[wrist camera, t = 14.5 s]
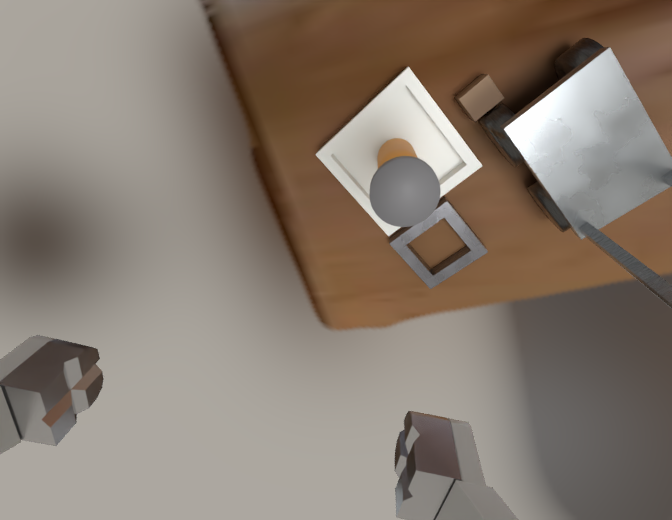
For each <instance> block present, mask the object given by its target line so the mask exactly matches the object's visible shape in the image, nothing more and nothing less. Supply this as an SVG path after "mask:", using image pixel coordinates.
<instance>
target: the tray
mask: <svg viewBox="0 0 672 520" xmlns="http://www.w3.org/2000/svg"><path fill="white" fill-rule="evenodd" d="M394 138H401V139H404V140H406V141H408V142H409V143H410V144H411V145H412V147H413V149H414V151H415V153H416V155H417V157H418V158H419V159H421V160H423V161H425V162H426V163H427V164H428V165H429V166H430V167H431V168H432V169H433V171H434V172H435V174H436V176H437V178H438V180H439V183H440V197H442V196H443V195H444V194H446V193H447V192H448V191H450V190H451V189H452V188H454V187H455V186H456V185H458V184H459V183H460V182H462V181H463V180H464V179H466V178H467V177H468V176H470V175H471V174H472V173H474V172H475V171H476V170H478V169H479V168H480V167H482V165H481V163H480V162H479V161H478V159H477V158H476V156H475V155H474V154H473V152H472V151H471V150H470V148H469V147H468V146H467V144H466V143H465V142H464V140H463V139H462V138H461V136H460V135H459V134H458V132H457V131H456V130H455V128H454V127H453V126H452V124H451V123H450V122H449V120H448V119H447V118H446V116H445V115H444V114H443V112H442V111H441V110H440V108H439V107H438V106H437V104H436V103H435V102H434V100H433V99H432V98H431V96H430V95H429V93H428V92H427V91H426V89H425V88H424V87H423V85H422V84H421V83H420V81H419V80H418V79H417V77H416V76H415V75H414V73H413V72H412V71H411V69H410V68H409V67H406V68H405V69H404V70H403V71H402V72H401V73H400V74H399V75H398V76H397V77H396V78H395V79H394V80H393V81H392V82H391V83H390V84H388V85H387V86H386V87H385V88H384V89H383V90H382V91H381V92H380V93H379V94H378V95H377V96H376V97H375V98H374V99H373V100H372V101H370V102H369V103H368V104H367V105H366V106H365V107H364V108H363V109H362V110H361V111H360V112H359V113H358V114H357V115H356V116H355V117H354V118H352V119H351V120H350V121H349V122H348V123H347V124H346V125H345V126H344V127H343V128H342V129H341V130H340V131H339V132H338V133H337V134H336V135H334V136H333V137H332V138H331V139H330V140H329V141H328V142H327V143H326V144H325V145H324V146H323V147H322V148H321V149H320V150H319V151H318V152H317V153H316V156H317V157H318V158H319V159H320V160H321V161H322V163H323V164H324V165H325V166H326V167H327V168H328V169H329V170H330V172H331V173H332V174H333V175H334V176H335V177H336V178H337V179H338V180H339V182H340V183H341V184H342V185H343V186H344V187H345V188H346V189H347V190H348V192H349V193H350V194H351V195H352V196H353V197H354V198H355V199H356V200H357V202H358V203H359V204H360V205H361V206H362V207H363V208H364V209H365V211H366V212H367V213H368V214H369V215H370V216H371V217H372V218H373V219H374V221H375V222H376V223H377V224H378V225H379V226H380V227H381V228H382V229H383V231H384V232H385V233H386V234H387V235H388V236H390V235H391V234H392V233H394V232H395V231H396V230H398V229H399V228H400V227H397V226H393V225H390V224H388V223H386V222H384V221H383V220H381V219H380V218H379V217H378V216H377V215H376V213H375V212H374V210H373V208H372V206H371V203H370V196H369V195H370V183H371V180H372V178H373V175H374V174H375V172H376V171H377V169H378V161H377V157H378V152H379V149H380V148H381V146H382V145H383V144H384V143H385V142H386V141H388V140H390V139H394Z"/></svg>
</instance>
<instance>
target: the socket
mask: <svg viewBox="0 0 672 520" xmlns="http://www.w3.org/2000/svg"><path fill="white" fill-rule="evenodd" d="M442 218H445V219H446V220H447V222H448V223H449V224H450V225H451V226H452V228H453V229H454V230H455V231H456V232H457V234H458V235H459V236H460V237H461V239H462V240H463V241H464V242H465V243H466V245H467V246H466V247H464V248H463V249H461V250H460V251H458V252H457V253H455V254H454V255H452V256H451V257H449V258H448V259H446V260H445V261H443V262H442V263H440V264H439V265H437V266H436V267H434V268H433V269H431V268H430V267H429V266H428V265H427V264H426V263H425V262H424V260H423V259H422V258H421V257H420V256H419V255H418V254H417V252H416V251H415V250H414V249H413V248H412V247H411V246H410V245H409V242H411V241H412V240H413V239H415V238H416V237H418V236H419V235H420V234H422V233H423V232H424V231H426V230H427V229H429V228H430V227H431V226H433V225H434V224H436V223H437V222H438V221H440V220H441V219H442ZM389 244H390V245H391V246H392V247H393V248H394V249H395V250H396V251H397V253H398V254H399V255H400V256H401V257H402V258H403V259H404V260H405V261H406V263H407V264H408V265H409V266H410V267H411V268H412V269H413V270H414V271H415V273H416V274H417V275H418V276H419V277H420V278H421V279H422V280H423V281H424V282H425V284H426V285H427V286H428V287H429V288H430V289H432V288H433V287H435V286H436V285H438V284H439V283H441V282H442V281H444V280H446V279H447V278H449V277H450V276H452V275H453V274H455V273H456V272H458V271H459V270H461V269H463V268H464V267H466V266H467V265H469V264H470V263H472V262H473V261H475V260H476V259H478V258H480V257H481V256H483V255H484V254H486V253H487V252H488V251H487V249H486V247H485V246H484V245H483V243H482V242H481V241H480V240H479V238H478V237H477V236H476V235H475V233H474V232H473V231H472V230H471V228H470V227H469V226H468V225H467V223H466V222H465V221H464V220H463V218H462V217H461V216H460V215H459V214H458V212H457V211H456V210H455V209H454V207H453V206H452V205H451V204H450V202H449V201H448V200H447V199H446V197H443V198H442V199H441V200H439V202H438V205H437V207H436V209H435V210H434V212H433V213H432V214H431V215H430V216H429V217H428V218H427V219H426V220H424V221H423V222H421V223H419V224H416V225H414V226H409V227H403V228H402V229H401V230H399V231H398V232H397V233H395V234H394V235H393V236H391V237H390V238H389Z"/></svg>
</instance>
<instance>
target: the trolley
mask: <svg viewBox="0 0 672 520" xmlns="http://www.w3.org/2000/svg"><path fill="white" fill-rule="evenodd" d="M554 65H555V70H556V73H557V75H558V78H559V81H558V82H556V83H555V84H554V85H553V86H551V87H550V88H549V89H547V90H546V91H545V92H544V93H542V94H541V95H540V96H538V97H537V98H536V99H535V100H533V101H532V102H531V103H529V104H528V105H527V106H526V107H524V108H523V109H522V110H520V111H519V112H518V113H517V114H514V113H513V112H512V111H511V110H510V109H509V108H508V107H506V106H505V105H504V104H500V105H498V106H497V107H496V108H495V109H493V110H492V111H491V112H490V113H488V114H487V115H486V116H485V117H483V118H482V119H481V120H480V123H481V125H482V127H483V129H484V130H485V132H486V134H487V135H488V136H489V138H490V139H491V141H492V142H493V143H494V145H495V146H496V147H497V148H498V150H499V151H500V152H501V153H502V155H503V156H504V157H505V158H506V159H507V160H508V161H509V162H510V163H511V164H512V165H513V166H514V167H517V166H519V165H520V164H521V163H523V162H525V164H526V165H527V167H528V168H529V169H530V171H531V172H532V174H533V175H534V176H535V178H536V179H537V182H536V183H534V184H533V185H531V186H530V187H528V191H529V193H530V194H531V196H532V198H533V199H534V200H535V202H536V203H537V204H538V206H539V207H540V208H541V210H542V211H543V212H544V213H545V215H546V216H547V217H548V218H549V219H550V220H551V222H552V223H553V224H554V225H555V226H556V227H557V228H558V229H559V230H560V231H561V232H564V231H566V230H568V229H569V228H571V229H572V231H573V232H574V233H575V234H576V235H577V236H578V237H579V238H580V239H581V240H582V239H583V238H585V237H587V238H588V239H589V240H590V241H591V242H593V243H594V244H595V245H596V246H597V247H599V248H600V249H601V250H602V251H603V252H605V253H606V254H607V255H608V256H609V257H611V258H612V259H613V260H614V261H615V262H617V263H618V264H619V265H620V266H621V267H623V268H624V269H625V270H626V271H627V272H629V273H630V274H631V275H632V276H633V277H635V278H636V279H637V280H638V281H639V282H641V283H642V284H643V285H644V286H645V287H647V288H648V289H649V290H650V291H651V292H653V293H654V294H655V295H656V296H657V297H659V298H660V299H661V300H662V301H663V302H665V303H666V304H667V305H668V306H669V307H671V308H672V285H670V284H669V283H668V282H667V281H665V280H664V279H663V278H661V277H660V276H659V275H657V274H656V273H655V272H653V271H652V270H651V269H649V268H648V267H647V266H645V265H644V264H643V263H641V262H640V261H639V260H637V259H636V258H635V257H634V256H632V255H631V254H630V253H628V252H627V251H626V250H624V249H623V248H622V247H620V246H619V245H618V244H616V243H615V242H614V241H612V240H611V239H610V238H608V237H607V236H606V235H604V234H603V233H602V232H600V231H599V230H598V229H600V228H602V227H603V226H605V225H607V224H608V223H610V222H612V221H613V220H615V219H617V218H619V217H620V216H622V215H624V214H625V213H627V212H629V211H630V210H632V209H634V208H635V207H637V206H639V205H640V204H642V203H644V202H645V201H647V200H649V199H650V198H652V197H654V196H655V195H657V194H659V193H660V192H662V191H664V190H665V189H667V188H669V187H671V186H672V157H671V156H670V154H669V152H668V150H667V148H666V147H665V145H664V143H663V141H662V139H661V138H660V136H659V134H658V132H657V131H656V129H655V127H654V125H653V123H652V122H651V120H650V118H649V116H648V114H647V113H646V111H645V109H644V107H643V106H642V104H641V102H640V100H639V98H638V97H637V95H636V93H635V91H634V89H633V88H632V86H631V84H630V82H629V80H628V79H627V77H626V75H625V73H624V72H623V70H622V68H621V66H620V64H619V63H618V61H617V59H616V57H615V55H614V54H613V52H612V50H611V48H610V47H606V48H604V47H603V46H602V45H600V44H599V43H598V42H596V41H594V40H592V39H589V38H582V39H581V40H579V41H578V42H577V43H576V44H574V45H573V46H572V47H571V48H569V49H568V50H567V51H566V52H564V53H563V54H562V55H561V56H559V57H558V58H557V59H556V60H555V63H554Z"/></svg>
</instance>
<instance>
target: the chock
mask: <svg viewBox="0 0 672 520" xmlns="http://www.w3.org/2000/svg"><path fill="white" fill-rule="evenodd" d="M454 98H455V99H456V101H457V102H458V103H459V105H460V106H461V107H462V109H463V110H464V112H465V113H466V114H467V116H468V117H469V118H470V119H471V120H473V121H477V120H478V119H479V118H480V117H482V116H483V115H484V114H485V113H487V112H488V111H489V110H490V109H492V108H493V107H494V106H495V105H497V104H498V103H499V102H500V101H501V100H503V99H504V97H503V95H502V94H501V93H500V91H499V90H498V88H497V87H496V85H495V84H494V82H493V81H492V79H491V78H490V76H489V75H487V74H481V75H480V76H479V77H477V78H476V79H475V80H474V81H473V82H472V83H470V84H469V85H468V86H467V87H466V88H465V89H463V90H462V91H461V92H460V93H459V94H458V95H456V96H455V97H454Z"/></svg>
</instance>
